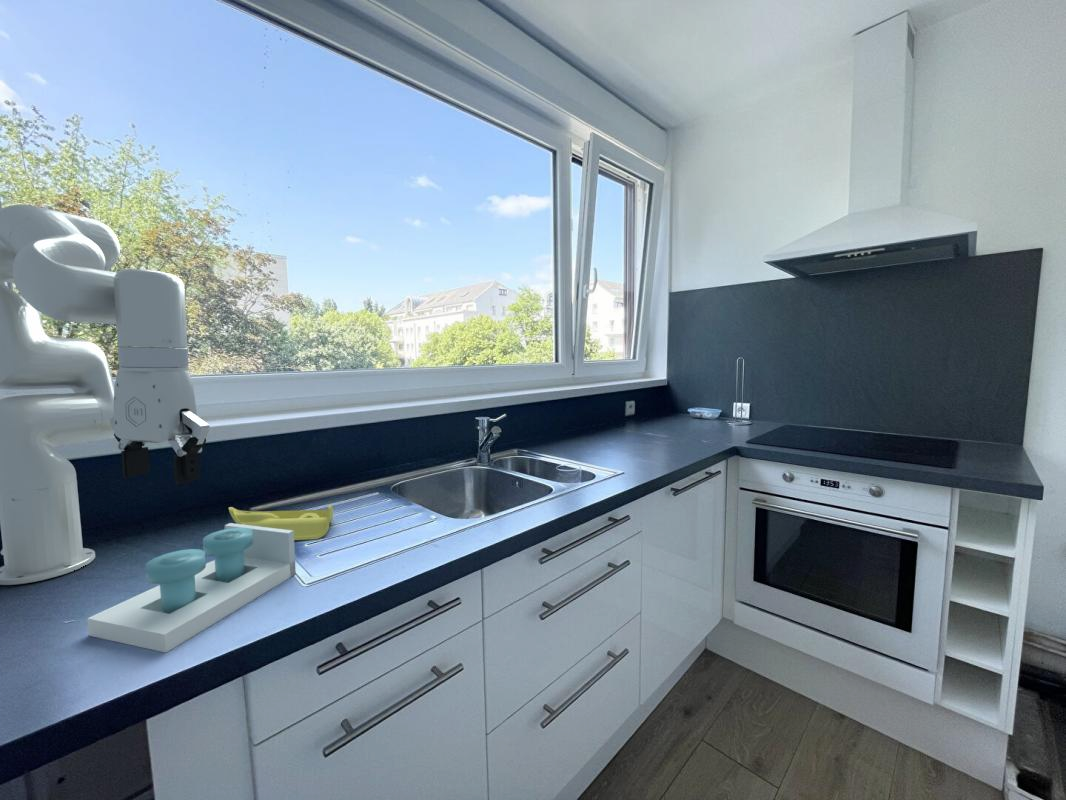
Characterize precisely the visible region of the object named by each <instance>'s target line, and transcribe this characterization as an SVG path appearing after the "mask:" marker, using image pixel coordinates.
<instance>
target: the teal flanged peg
mask: <svg viewBox="0 0 1066 800" xmlns="http://www.w3.org/2000/svg"><path fill="white" fill-rule="evenodd" d="M252 544H253V533H252V529H250V528H243V527H240V528H230V529H225V528H224V529H220V530H218V531H214V532H211V533H209V534H207V535H206V536H204V537H203V538H202V549H203V551H204V552H205V556H211V557H212V556H214V560H215V573H216V581H220V582H226V583H229V582H231V581H233V580H235V579H237V578H239V577H240V576H242V575H244V574H245V568H244V549H246V548H248V547H250V546H251V545H252Z"/></svg>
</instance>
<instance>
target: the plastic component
mask: <svg viewBox="0 0 1066 800" xmlns="http://www.w3.org/2000/svg"><path fill="white" fill-rule="evenodd" d="M228 510H229V511H228V512H229V515H230V516H231V518H232V519H233V521H234V522H235V524H243V525H251V526H259V527H268V528H276V529H284V530H293V531H294V541H305V540H307V541H309V540H319V539H321V538H323V537H324V536H325V535H326V534H328V531H329V529H330V524H331V523H332V522H333V517H334V511H335V510H334V507H333V505H332V504H328V508H327V509H310V510H309V509H307V510H306V509H303V510H300V509H299V510H268V511H265V510H263V511H262V510H261V511H259V510H258V511H256V510H252V511H251V510H240V509H237V508H235V507H233V506H230V507H228Z"/></svg>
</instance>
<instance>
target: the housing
mask: <svg viewBox="0 0 1066 800" xmlns="http://www.w3.org/2000/svg"><path fill="white" fill-rule="evenodd" d="M240 527H243V528H250V529H252V533H253V544H252V545H251V546H250V547H248V548H246V549H244V568H245V574H244V575H242V576H240V577H239V578H237V579H235V580H233V581H231V582H229V583H226V582H220V581H216V573H215V559H214V560H212V561H210V562H207V563H206V567H205V569H204V570H203V571H201V572H200V573H198V574H196V575H195V589H196V600H195V601H193V602H191V603H189V604H188V605H186V606H184V607H182V608H180V609H178V610H176V611H174V612H172V613H171V614H167V613H162V609H161V595H160V584H158V585H157V586H155V587H152V588H151V589H148V590H146V591H144V592H142V593H140V594H137V595H135V596H133V597H131V598H128V599H126V600H124V601H122V602H120V603H118V604H116V605H114V606H111V607H108V608H107V609H105V610H102V611H100V612H98V613H95V614H93V615H92V616H90V617H88V618H86V620H87V630H88V631H87V632H88V636H90V637H94V638H98V639H102V640H107V641H112V642H116V643H121V644H124V645H125V644H126V645H131V646H134V647H139V648H143V649H149V650H153V651H156V652H160V653H165V654H166V653H168V652H170V651H172V650H173V649H175V648H176V647H178V646H180V645H181V644H182V643H185V642H187V641H188V640H189V639H192V638H193V637H195V636H196V635H198V634H199V633H201V632H202V631H204V630H206V629H208V628H209V627H211V626H213V625H214V624H216V623H218V622H219V621H221V620H222V619H224V618H226V617H227V616H229V615H231V614H232V613H234V612H236V611H237V610H239V609H241V608H242V607H244V606H246V605H247V604H248V603H250V602H252V601H254V600H255V599H257V598H259V597H260V596H262V595H263V594H265V593H267V592H269V591H270V590H273V588H276V587H278V585H280V584H282V583H283V582H286V581H287V580H288V579H290V578H292V577H293V576H295V575H296V571H297V570H296V550H295V540H294V531H293V530H284V529H276V528H268V527H259V526H251V525H243V524H237V523H233V522H229V523H226V524H224V529H230V528H240Z"/></svg>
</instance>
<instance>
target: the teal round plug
mask: <svg viewBox="0 0 1066 800" xmlns="http://www.w3.org/2000/svg"><path fill="white" fill-rule="evenodd" d="M206 561H207V560H206V554H205V552H204V551H203V550H202V549H198V548H197V549H196V548H189V549H181V550H175V551H172V552H171V551H170V552H168V553H164V554H161V555H159V556H156V557H154V558H151V559H150V560H149V561H147V562H146V563H145V567H144V568H145V580H146V582H147V583H149V584H154V585H160V595H161V609H162V613H167V614H171V613H172V612H174V611H176V610H178V609H180V608H182V607H184V606H186V605H188V604H189V603H191V602H193V601H195V600H196V589H195V575H196V574H198V573H200V572H201V571H203V570H204V569H205V567H206V564H207V563H206Z"/></svg>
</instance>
